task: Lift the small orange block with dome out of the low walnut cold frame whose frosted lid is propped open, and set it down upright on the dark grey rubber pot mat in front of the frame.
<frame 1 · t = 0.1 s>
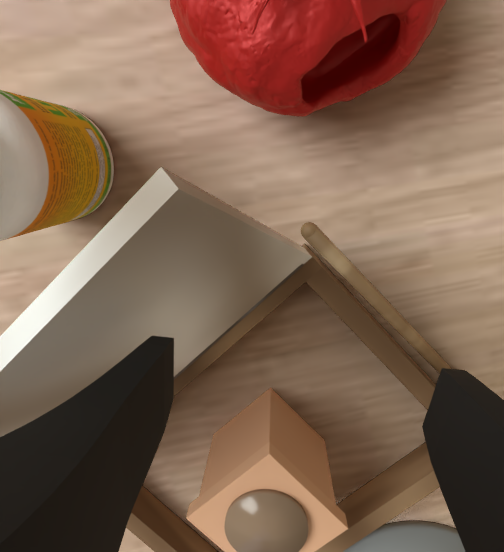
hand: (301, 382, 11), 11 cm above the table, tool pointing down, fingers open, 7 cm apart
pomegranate: (301, 4, 19), on the table
supplement bottle: (65, 164, 21), on the table
cold frame: (268, 437, 24), on the table
orange block with dome: (268, 437, 24), resting in cold frame
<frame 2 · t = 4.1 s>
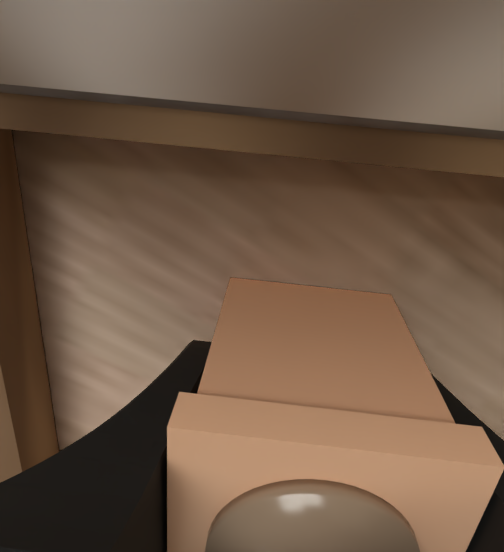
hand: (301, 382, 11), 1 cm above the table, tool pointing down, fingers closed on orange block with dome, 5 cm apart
cold frame: (299, 353, 13), on the table
orange block with dome: (299, 352, 13), resting in cold frame, touching gripper
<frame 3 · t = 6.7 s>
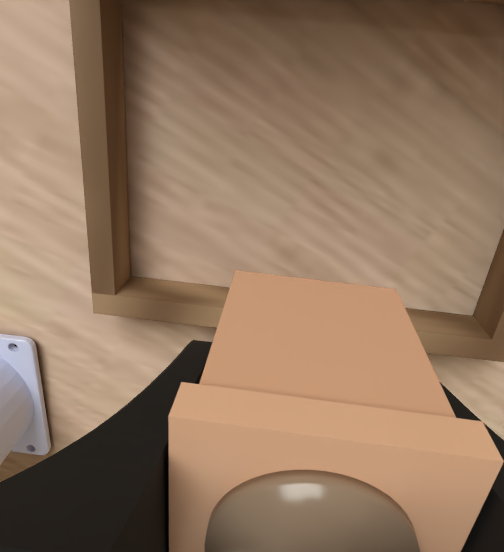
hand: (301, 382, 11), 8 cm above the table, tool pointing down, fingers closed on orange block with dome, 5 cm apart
cold frame: (320, 165, 17), on the table
orange block with dome: (304, 346, 13), point 7 cm above the table, touching gripper
when the fingers open (3 cm above the table, at t = 9.8 s): orange block with dome stays where it is, resting on pot mat.
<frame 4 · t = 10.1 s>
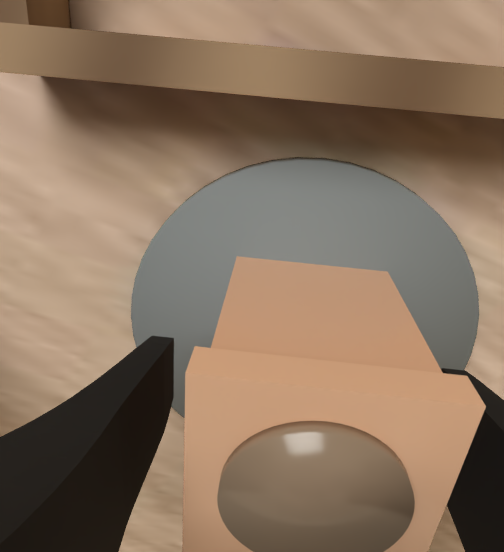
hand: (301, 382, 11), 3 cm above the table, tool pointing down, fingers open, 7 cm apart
pot mat: (298, 325, 14), on the table
orange block with dome: (302, 328, 14), point 1 cm above the table, touching pot mat
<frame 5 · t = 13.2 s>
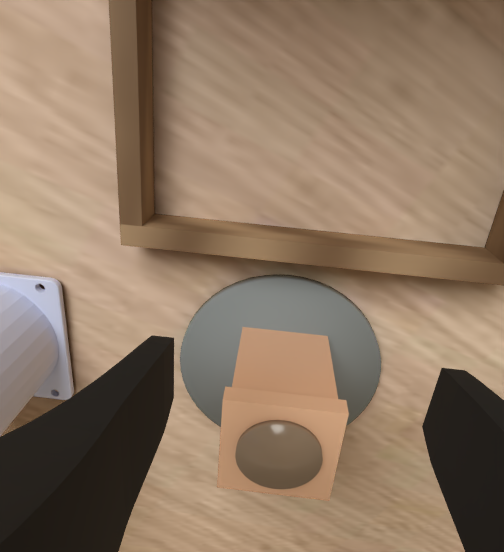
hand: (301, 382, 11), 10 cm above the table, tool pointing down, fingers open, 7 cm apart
pot mat: (278, 363, 24), on the table
cold frame: (338, 96, 18), on the table
orange block with dome: (280, 366, 23), point 1 cm above the table, touching pot mat
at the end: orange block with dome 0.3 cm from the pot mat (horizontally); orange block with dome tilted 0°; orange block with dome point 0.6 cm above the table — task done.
